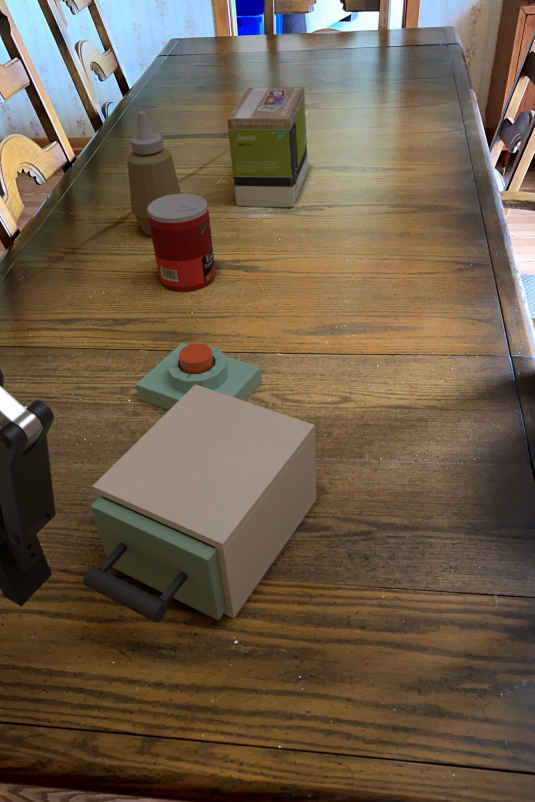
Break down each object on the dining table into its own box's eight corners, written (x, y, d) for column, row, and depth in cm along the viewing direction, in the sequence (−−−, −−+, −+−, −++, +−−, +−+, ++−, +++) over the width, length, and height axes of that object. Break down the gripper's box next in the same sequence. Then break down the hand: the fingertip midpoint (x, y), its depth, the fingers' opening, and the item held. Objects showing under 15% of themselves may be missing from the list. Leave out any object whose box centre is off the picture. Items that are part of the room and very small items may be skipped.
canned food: (218, 288, 98) (210, 213, 91) (161, 296, 98) (147, 221, 91) (213, 261, 104) (204, 189, 97) (158, 268, 104) (145, 197, 96)
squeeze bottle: (164, 244, 109) (145, 125, 98) (125, 233, 113) (101, 117, 101) (196, 223, 114) (181, 107, 103) (157, 213, 118) (139, 100, 106)
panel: (138, 399, 81) (132, 371, 78) (184, 356, 87) (180, 329, 84) (219, 429, 76) (215, 400, 74) (262, 381, 82) (260, 353, 79)
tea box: (254, 171, 129) (247, 85, 120) (309, 172, 127) (307, 85, 118) (234, 207, 118) (225, 115, 108) (294, 209, 116) (290, 116, 107)
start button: (174, 370, 79) (172, 357, 78) (193, 352, 81) (191, 340, 80) (201, 379, 77) (199, 366, 76) (219, 361, 80) (218, 348, 78)
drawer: (186, 665, 54) (172, 606, 49) (74, 604, 59) (51, 544, 54) (299, 507, 66) (296, 446, 61) (197, 467, 71) (187, 407, 66)
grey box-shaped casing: (234, 619, 58) (222, 544, 52) (114, 560, 64) (91, 485, 57) (316, 500, 68) (315, 424, 62) (206, 457, 73) (195, 383, 67)
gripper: (-300, 256, 30) (-89, 587, 45) (-97, 339, 25) (64, 682, 40) (-143, 186, 35) (-1, 507, 50) (55, 243, 29) (147, 583, 45)
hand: (28, 585), depth 45 cm, fingers closed
